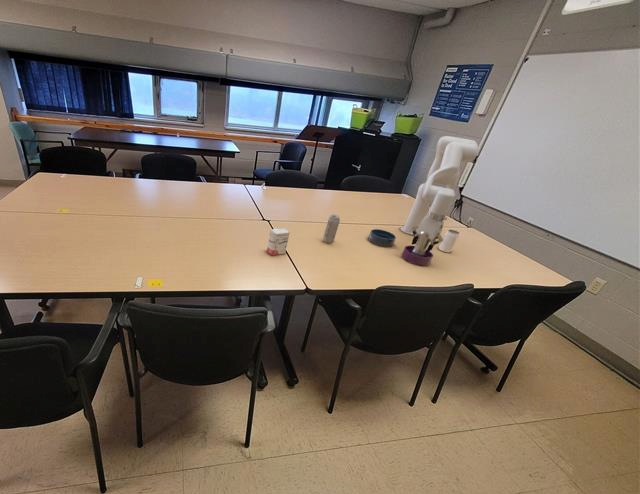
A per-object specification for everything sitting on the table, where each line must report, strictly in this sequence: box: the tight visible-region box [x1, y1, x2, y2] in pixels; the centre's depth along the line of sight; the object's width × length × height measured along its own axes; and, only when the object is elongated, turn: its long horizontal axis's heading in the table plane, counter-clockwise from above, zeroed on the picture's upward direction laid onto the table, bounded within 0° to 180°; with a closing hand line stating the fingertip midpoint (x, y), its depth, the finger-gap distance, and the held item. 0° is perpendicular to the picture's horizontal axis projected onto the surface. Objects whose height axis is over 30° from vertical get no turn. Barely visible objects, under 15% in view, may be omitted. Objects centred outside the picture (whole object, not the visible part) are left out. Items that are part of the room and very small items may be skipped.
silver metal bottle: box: [411, 231, 431, 257], centre depth 166 cm, size 6×7×20 cm
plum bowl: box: [401, 245, 434, 266], centre depth 170 cm, size 14×14×5 cm
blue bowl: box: [367, 228, 397, 248], centre depth 186 cm, size 14×14×5 cm
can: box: [438, 229, 460, 253], centre depth 185 cm, size 6×6×12 cm
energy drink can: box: [322, 214, 341, 244], centre depth 174 cm, size 6×6×15 cm
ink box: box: [266, 227, 290, 256], centre depth 156 cm, size 9×5×12 cm, turn 117°
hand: (420, 247), depth 167 cm, fingers open, 8 cm apart
